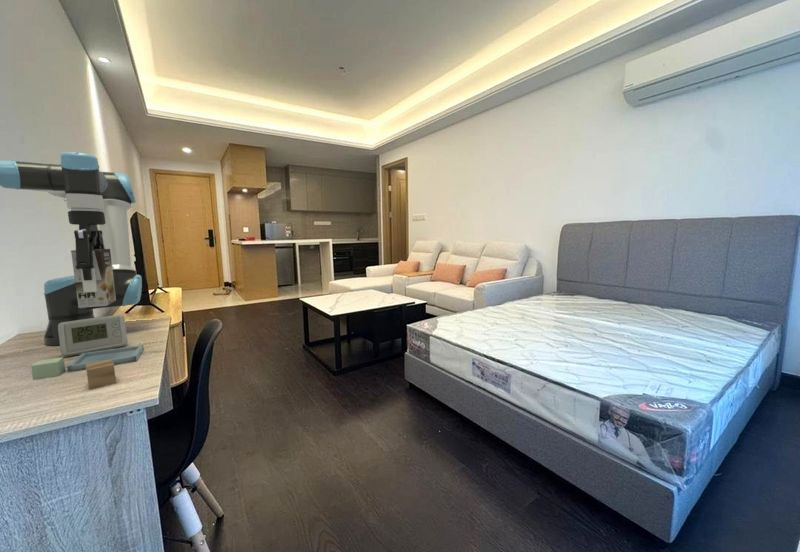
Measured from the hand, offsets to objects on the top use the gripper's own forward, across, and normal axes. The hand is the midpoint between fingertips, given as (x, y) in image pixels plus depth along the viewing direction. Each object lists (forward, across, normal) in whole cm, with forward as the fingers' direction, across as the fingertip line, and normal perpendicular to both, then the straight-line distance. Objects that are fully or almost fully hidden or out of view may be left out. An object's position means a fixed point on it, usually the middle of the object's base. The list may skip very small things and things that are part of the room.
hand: (96, 289), depth 95 cm
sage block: (+22, +6, -10) cm, 25 cm away
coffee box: (+5, 0, 0) cm, 5 cm away
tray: (+22, 0, +1) cm, 22 cm away
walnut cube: (+22, +20, +4) cm, 29 cm away
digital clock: (+22, -14, -6) cm, 27 cm away
